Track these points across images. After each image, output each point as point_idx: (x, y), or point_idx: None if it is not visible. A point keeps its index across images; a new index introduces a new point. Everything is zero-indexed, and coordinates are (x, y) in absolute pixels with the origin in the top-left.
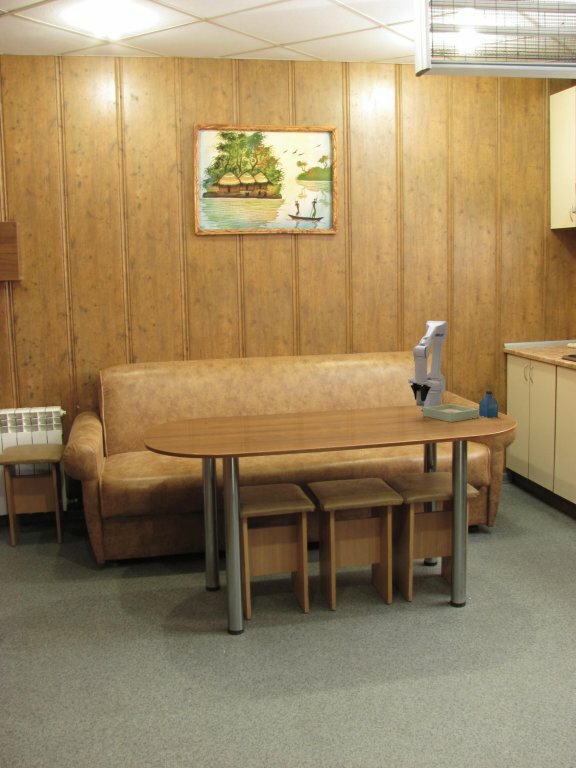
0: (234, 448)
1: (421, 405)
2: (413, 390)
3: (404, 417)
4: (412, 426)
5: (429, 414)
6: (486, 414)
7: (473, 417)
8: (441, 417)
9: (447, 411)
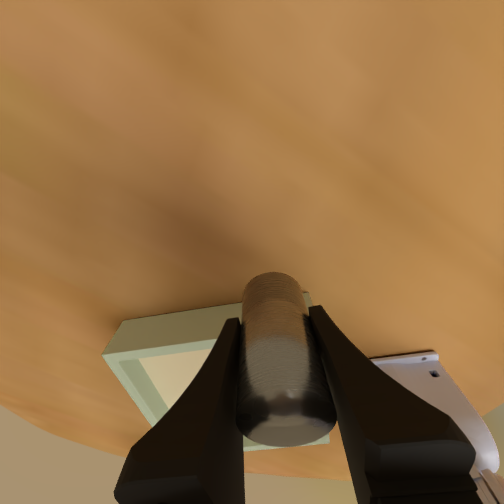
0: None
1: (243, 293)
2: (362, 373)
3: (333, 181)
4: (8, 37)
5: None
6: None
7: None
8: (179, 320)
9: None
